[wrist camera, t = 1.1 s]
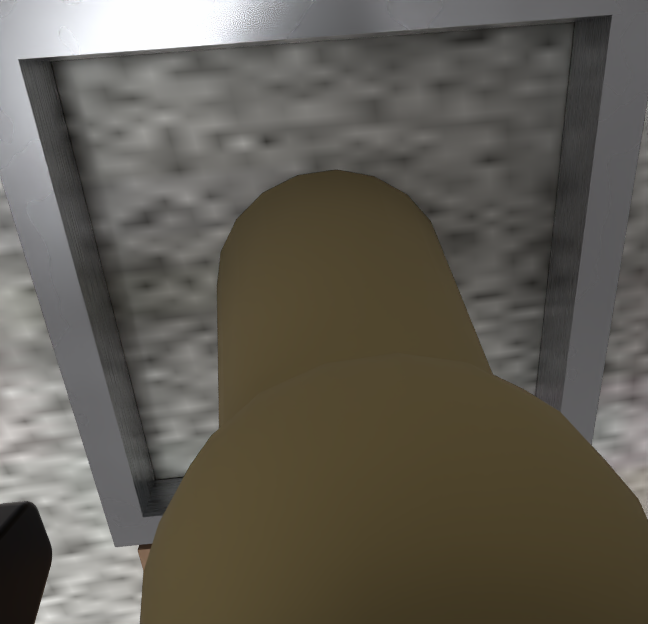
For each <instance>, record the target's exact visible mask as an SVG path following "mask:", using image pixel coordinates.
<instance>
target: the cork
mask: <svg viewBox="0 0 648 624" xmlns="http://www.w3.org/2000/svg"><path fill="white" fill-rule="evenodd" d="M217 324H218V391H219V429H218V430H217V431H216V432H215V433H214V434H213V435H211V437H210V438H209V439H208V441H207V442H206V444H205V445H204V447H203V448H202V449H201V451H200V452H199V454H198V455H197V456H196V458H195V459H194V461H193V462H192V464H191V465H190V466H189V468H188V470H187V472H186V474H185V476H184V477H183V479H182V481H181V483H180V485H179V487H178V489H177V490H176V492H175V494H174V496H173V498H172V500H171V501H170V503H169V505H168V507H167V509H166V511H165V513H164V514H163V516H162V518H161V520H160V522H159V524H158V527H157V530H156V533H155V537H154V540H153V543H152V546H151V549H150V552H149V555H148V559H147V562H146V565H145V568H144V571H143V586H142V600H141V615H140V624H648V520H647V517H646V515H645V513H644V511H643V508H642V506H641V504H640V502H639V499H638V498H637V497H636V496H635V494H634V493H633V492H632V491H631V490H630V489H629V487H628V486H627V485H626V484H625V483H624V482H623V480H622V479H621V478H620V477H619V476H618V475H617V473H616V472H615V471H614V470H613V469H612V468H611V466H610V465H609V464H608V463H607V462H606V461H605V459H604V458H603V457H602V456H601V455H600V454H599V453H598V452H597V451H596V450H595V449H594V448H593V446H592V445H591V444H590V443H589V442H588V441H587V440H586V439H585V438H584V437H583V436H582V435H581V434H580V432H579V431H578V430H577V429H576V428H575V427H574V426H573V425H572V424H571V423H570V422H569V421H568V420H567V418H566V417H565V416H564V415H563V414H562V413H561V412H560V411H558V410H557V409H555V408H553V407H552V406H550V405H548V404H547V403H545V402H544V401H542V400H540V399H539V398H537V397H536V396H534V395H532V394H531V393H529V392H527V391H526V390H524V389H522V388H520V387H518V386H516V385H514V384H512V383H509V382H507V381H505V380H503V379H501V378H499V377H497V376H495V375H493V374H492V371H491V369H490V366H489V364H488V361H487V359H486V356H485V354H484V351H483V349H482V346H481V344H480V342H479V339H478V337H477V334H476V332H475V329H474V327H473V324H472V322H471V319H470V317H469V314H468V312H467V310H466V307H465V305H464V302H463V300H462V297H461V295H460V292H459V290H458V287H457V285H456V282H455V280H454V278H453V275H452V273H451V270H450V268H449V265H448V263H447V260H446V258H445V255H444V253H443V250H442V248H441V246H440V243H439V241H438V238H437V236H436V233H435V231H434V228H433V226H432V223H431V221H430V220H429V219H428V218H427V217H426V215H425V214H424V213H423V212H422V211H421V210H420V209H419V208H418V206H417V205H416V204H415V203H414V202H413V201H412V200H411V199H410V197H409V196H408V195H407V194H405V193H403V192H401V191H400V190H398V189H396V188H394V187H392V186H391V185H389V184H387V183H385V182H383V181H382V180H380V179H378V178H376V177H374V176H369V175H363V174H358V173H352V172H347V171H341V170H330V171H324V172H317V173H310V174H303V175H297V176H295V177H293V178H291V179H289V180H287V181H285V182H283V183H281V184H279V185H277V186H275V187H273V188H271V189H269V190H267V191H265V192H263V193H262V194H261V195H260V196H259V197H258V198H257V199H256V200H255V201H254V202H253V203H252V204H251V205H250V206H249V207H248V208H247V209H246V210H245V211H244V212H243V213H242V214H241V215H240V216H239V217H238V218H237V219H236V221H235V223H234V226H233V228H232V230H231V232H230V234H229V236H228V238H227V240H226V242H225V244H224V246H223V248H222V250H221V254H220V263H219V272H218V281H217Z"/></svg>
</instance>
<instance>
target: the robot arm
mask: <svg viewBox="0 0 648 624" xmlns="http://www.w3.org/2000/svg"><path fill="white" fill-rule="evenodd" d="M51 562H52V548H51V544H50V541H49V538H48V536H47V533H46V530H45V528H44V525H43V522H42V520H41V517H40V514H39V511H38V509H37V507H36V506H35V505H34V504H33V503H32V502H28V501H22V502H12V503H3V504H0V624H34V623H35V620H36V616H37V613H38V609H39V606H40V602H41V599H42V595H43V592H44V588H45V584H46V581H47V577H48V574H49V570H50V567H51Z"/></svg>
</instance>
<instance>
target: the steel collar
mask: <svg viewBox="0 0 648 624" xmlns="http://www.w3.org/2000/svg"><path fill="white" fill-rule="evenodd" d="M569 22H575V28H574V38H573V47H572V57H571V66H570V75H569V85H568V94H567V104H566V113H565V123H564V132H563V142H562V151H561V161H560V170H559V180H558V189H557V199H556V208H555V218H554V227H553V237H552V246H551V255H550V265H549V274H548V284H547V293H546V303H545V312H544V322H543V331H542V341H541V350H540V360H539V369H538V379H537V388H536V397H537V398H539V399H540V400H542V401H544V402H545V403H547V404H548V405H550V406H552V407H553V408H555V409H557V410H558V411H560V412H561V413H562V414H563V415H564V416H565V417H566V418H567V420H568V421H569V422H570V423H571V424H572V425H573V426H574V427H575V428H576V429H577V430H578V431H579V432H580V434H581V435H582V436H583V437H584V438H585V439H586V440H587V441H588V442H589V443H590V444H591V445H592V439H593V433H594V427H595V420H596V414H597V408H598V402H599V396H600V390H601V383H602V377H603V371H604V365H605V359H606V353H607V346H608V340H609V334H610V328H611V322H612V316H613V309H614V303H615V297H616V291H617V285H618V279H619V272H620V266H621V260H622V254H623V248H624V242H625V235H626V229H627V223H628V217H629V211H630V205H631V198H632V192H633V186H634V180H635V174H636V168H637V161H638V155H639V149H640V143H641V137H642V131H643V125H644V118H645V112H646V106H647V100H648V0H0V177H1V180H2V184H3V187H4V190H5V193H6V196H7V200H8V203H9V206H10V209H11V213H12V216H13V219H14V222H15V226H16V229H17V232H18V235H19V238H20V242H21V245H22V248H23V251H24V255H25V258H26V261H27V264H28V267H29V271H30V274H31V277H32V280H33V284H34V287H35V290H36V293H37V297H38V300H39V303H40V306H41V309H42V313H43V316H44V319H45V322H46V326H47V329H48V332H49V335H50V338H51V342H52V345H53V348H54V351H55V355H56V358H57V361H58V364H59V368H60V371H61V374H62V377H63V380H64V384H65V387H66V390H67V393H68V397H69V400H70V403H71V406H72V410H73V413H74V416H75V419H76V422H77V426H78V429H79V432H80V435H81V439H82V442H83V445H84V448H85V451H86V455H87V458H88V461H89V464H90V468H91V471H92V474H93V477H94V481H95V484H96V487H97V490H98V493H99V497H100V500H101V503H102V506H103V510H104V513H105V516H106V519H107V522H108V526H109V529H110V532H111V535H112V539H113V542H114V545H115V547H122V546H132V545H142V544H152V543H153V540H154V537H155V533H156V530H157V527H158V524H159V522H160V520H161V518H162V516H163V514H164V513H165V511H166V509H167V507H168V505H169V503H170V501H171V500H172V498H173V496H174V494H175V492H176V490H177V489H178V487H179V485H180V483H181V481H182V479H183V478H175V479H164V480H155V477H154V473H153V469H152V465H151V461H150V457H149V453H148V449H147V445H146V441H145V437H144V433H143V429H142V425H141V421H140V417H139V413H138V409H137V405H136V401H135V397H134V393H133V389H132V385H131V381H130V377H129V373H128V370H127V366H126V362H125V358H124V354H123V350H122V346H121V342H120V338H119V334H118V330H117V326H116V322H115V318H114V314H113V310H112V306H111V302H110V298H109V294H108V290H107V286H106V282H105V278H104V274H103V270H102V266H101V262H100V258H99V254H98V250H97V246H96V242H95V238H94V234H93V230H92V226H91V222H90V218H89V214H88V210H87V206H86V202H85V198H84V194H83V190H82V186H81V182H80V178H79V175H78V171H77V167H76V163H75V159H74V155H73V151H72V147H71V143H70V139H69V135H68V131H67V127H66V123H65V119H64V115H63V111H62V107H61V103H60V99H59V95H58V91H57V87H56V83H55V79H54V75H53V71H52V67H51V63H50V62H51V61H64V60H77V59H90V58H104V57H117V56H130V55H144V54H157V53H170V52H184V51H197V50H210V49H223V48H237V47H250V46H263V45H277V44H290V43H303V42H316V41H330V40H343V39H356V38H370V37H383V36H396V35H409V34H423V33H436V32H449V31H463V30H476V29H489V28H502V27H516V26H529V25H542V24H556V23H569Z"/></svg>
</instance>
